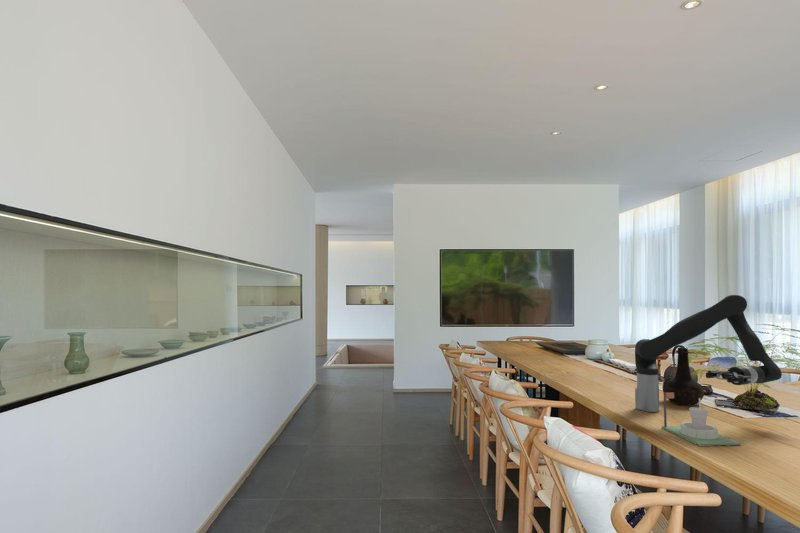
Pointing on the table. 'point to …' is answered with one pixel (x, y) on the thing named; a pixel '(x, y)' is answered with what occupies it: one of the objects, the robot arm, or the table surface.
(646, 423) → the table surface
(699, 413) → the smoothie
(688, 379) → the glass bottle
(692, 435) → the practice green
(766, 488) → the table surface
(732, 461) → the table surface
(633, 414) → the table surface
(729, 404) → the picture frame
